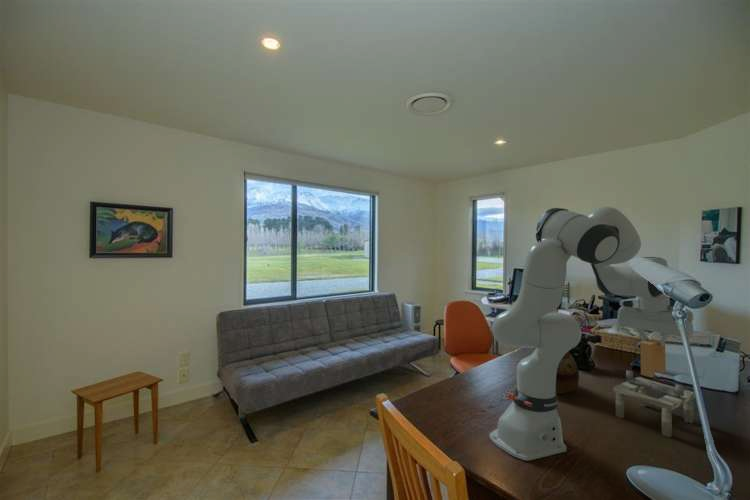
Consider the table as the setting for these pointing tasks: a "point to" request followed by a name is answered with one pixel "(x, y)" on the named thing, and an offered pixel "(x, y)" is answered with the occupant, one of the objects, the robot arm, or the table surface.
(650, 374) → the wooden mini bench
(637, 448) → the table surface
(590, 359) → the movie camera
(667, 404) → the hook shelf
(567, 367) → the ceramic pitcher
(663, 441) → the table surface
